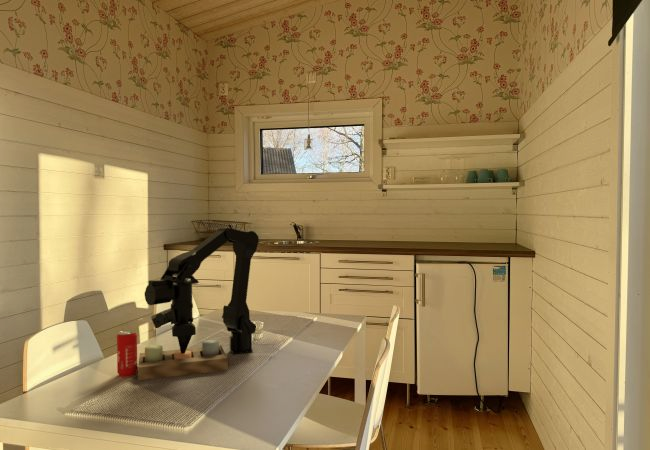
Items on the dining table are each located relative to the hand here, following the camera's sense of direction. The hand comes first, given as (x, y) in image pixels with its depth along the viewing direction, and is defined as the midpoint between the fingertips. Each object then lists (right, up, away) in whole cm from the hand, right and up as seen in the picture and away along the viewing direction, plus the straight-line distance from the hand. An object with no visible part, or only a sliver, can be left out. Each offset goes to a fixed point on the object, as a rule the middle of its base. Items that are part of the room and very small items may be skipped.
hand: (182, 353), depth 139 cm
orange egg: (0, -4, 0) cm, 4 cm away
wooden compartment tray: (0, -4, 0) cm, 4 cm away
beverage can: (-14, -5, -6) cm, 16 cm away
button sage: (-8, -2, -3) cm, 8 cm away
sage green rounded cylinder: (+8, -1, +3) cm, 8 cm away
